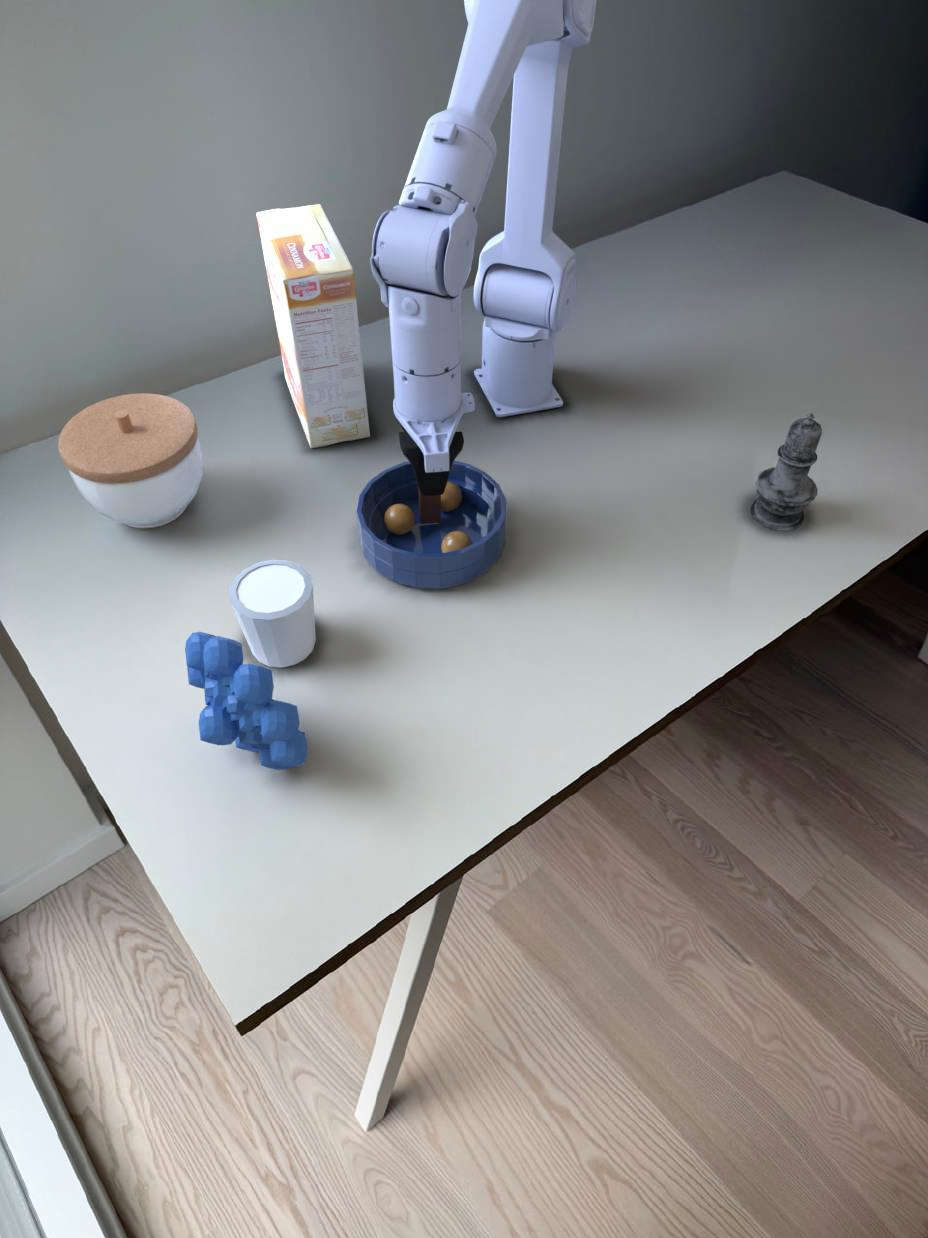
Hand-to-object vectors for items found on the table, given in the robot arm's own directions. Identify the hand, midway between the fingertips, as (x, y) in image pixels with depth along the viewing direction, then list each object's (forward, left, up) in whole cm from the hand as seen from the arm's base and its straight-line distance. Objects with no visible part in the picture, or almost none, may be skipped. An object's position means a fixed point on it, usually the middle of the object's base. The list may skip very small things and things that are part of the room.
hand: (431, 484), depth 84 cm
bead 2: (-2, +2, -3) cm, 4 cm away
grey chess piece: (+8, +34, -6) cm, 35 cm away
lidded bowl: (-11, -26, -6) cm, 29 cm away
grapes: (+22, -21, -6) cm, 30 cm away
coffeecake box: (-23, -6, -6) cm, 25 cm away
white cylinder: (+11, -16, -6) cm, 20 cm away
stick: (0, 0, -4) cm, 4 cm away
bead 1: (0, -3, -3) cm, 5 cm away
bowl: (+2, 0, -5) cm, 6 cm away
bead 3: (+5, +1, -3) cm, 6 cm away
